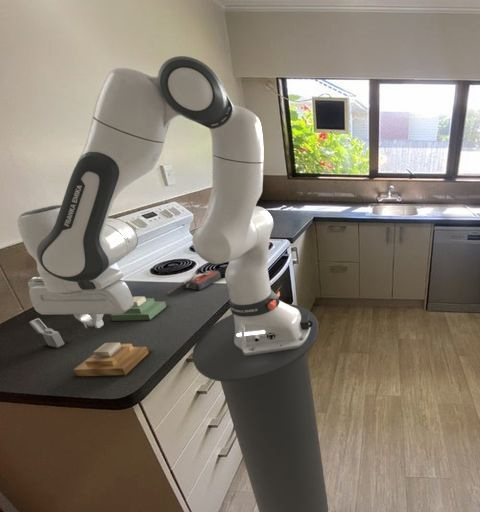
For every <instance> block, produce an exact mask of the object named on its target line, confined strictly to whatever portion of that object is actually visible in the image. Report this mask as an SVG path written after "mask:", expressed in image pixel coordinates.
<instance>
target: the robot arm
mask: <svg viewBox="0 0 480 512" xmlns="http://www.w3.org/2000/svg"><path fill="white" fill-rule="evenodd" d="M221 80H222V79H220V77H219V76H218V75H217V73H216V72H215V71H214V70H213V69H212V68H211V67H210V66H208V65H207V64H206V63H204V62H202V61H201V60H199V59H197V58H194V57H190V56H184V55H178V56H174V57H171V58H169V59H167V60H166V61H164V62H163V63H162V64H161V66H160V68H159V71H158V73H157V75H156V76H154V75H149V74H147V73H144V72H142V71H139V70H136V69H133V68H126V67H118V68H114V69H112V70H110V71H109V73H108V74H107V76H106V77H105V80H104V81H103V83H102V86H101V88H100V91H99V93H98V96H97V98H96V101H95V105H94V109H93V112H92V118H91V122H90V127H89V131H88V135H87V138H86V141H85V145H84V147H83V150H82V152H81V154H80V156H79V158H78V160H77V162H76V164H75V166H74V169H73V171H72V173H71V175H70V177H69V181H68V184H67V187H66V190H65V194H64V196H63V199H62V202H61V204H56V205H50V206H45V207H41V208H37V209H33V210H29V211H25V212H23V213H21V214H20V215H19V216H18V217H17V229H18V232H19V235H20V238H21V240H22V242H23V244H24V246H25V249H26V250H27V252H28V254H29V256H31V257H32V258H33V259H34V261H35V263H36V269H37V272H38V275H39V276H33V277H31V279H29V280H28V282H27V286H28V288H29V290H28V293H29V296H30V300H31V301H30V302H31V304H32V306H33V309H34V310H35V311H36V312H37V313H38V314H40V315H41V316H42V315H44V316H45V315H50V316H51V315H53V316H54V315H73V317H74V318H75V319H76V320H78V321H79V322H81V323H82V324H83V326H84V328H85V329H100V328H102V327H103V326H104V324H105V323H104V321H103V318H104V315H112V314H123V313H125V312H126V311H128V310H129V309H130V308H132V307H133V305H134V300H133V297H134V296H133V295H132V292H131V290H130V288H129V285H128V284H127V283H126V282H125V281H124V280H122V278H123V277H124V275H123V272H122V270H120V269H119V270H117V269H113V268H110V266H112V265H113V264H115V263H118V262H119V261H121V260H122V259H124V258H125V257H127V256H128V255H129V254H130V253H132V252H133V251H134V250H135V249H136V248H137V246H138V244H139V239H138V235H137V233H136V231H135V229H134V228H133V227H132V226H131V225H130V224H129V223H127V222H125V221H124V220H122V219H120V218H115V217H109V216H110V214H111V209H112V206H113V204H114V201H115V200H116V199H117V197H118V195H119V194H120V193H122V191H123V190H124V189H125V188H127V187H128V186H129V185H131V184H132V183H133V182H134V181H136V180H138V179H140V178H141V177H143V176H144V175H146V174H148V173H149V172H151V171H152V170H153V169H154V168H155V166H156V164H157V162H158V161H159V159H160V157H161V155H162V152H163V148H164V144H165V141H166V137H167V132H168V129H169V126H170V124H171V122H172V121H173V120H174V118H176V117H180V116H182V117H184V118H185V119H188V120H190V121H192V122H194V123H197V124H199V125H201V126H203V127H205V128H207V129H209V132H210V137H211V159H212V166H211V167H212V171H211V172H212V173H211V174H212V175H211V176H212V177H211V178H212V182H211V183H212V184H211V191H210V197H209V201H208V204H207V207H206V210H205V213H204V216H203V218H202V221H201V223H200V224H199V226H198V227H197V229H196V230H195V231H194V232H193V235H192V238H191V239H192V240H191V241H192V246H193V250H194V251H195V253H196V254H197V255H198V256H199V257H200V258H201V259H202V260H204V261H205V262H206V263H209V264H212V265H222V264H224V263H228V265H227V267H226V270H225V273H224V279H225V283H226V287H227V291H228V296H229V299H228V302H229V308H230V311H231V315H232V314H233V315H234V322H235V337H234V343H235V345H236V346H237V347H238V348H240V349H242V351H243V354H244V355H246V356H248V355H255V354H262V353H268V352H275V351H282V350H288V349H295V348H298V347H300V346H301V345H302V344H303V343H304V342H305V341H306V339H307V337H308V335H309V333H310V328H311V326H312V325H313V322H312V321H311V320H309V314H304V315H301V314H300V312H299V310H298V309H296V308H294V307H292V306H290V305H288V304H289V303H285V302H284V301H282V300H280V296H281V292H280V290H279V291H278V292H277V293H275V292H274V290H273V289H272V288H271V280H270V275H269V268H268V267H269V249H270V240H271V234H272V231H273V229H274V219H273V216H272V215H271V213H270V212H269V210H267V209H265V207H262V206H258V205H257V203H258V201H259V199H260V198H261V196H262V194H263V187H264V186H263V185H264V160H265V148H264V136H263V129H262V128H263V127H262V122H261V121H260V119H259V117H258V115H256V113H254V112H253V111H251V110H249V109H248V108H246V107H244V106H240V105H236V104H234V103H232V100H231V99H230V97H229V95H228V93H227V91H226V88H225V86H224V84H223V82H222V81H221ZM119 279H120V280H119Z"/></svg>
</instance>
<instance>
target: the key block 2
mask: <svg viewBox="0 0 480 512" xmlns="http://www.w3.org/2000/svg"><path fill="white" fill-rule="evenodd" d="M120 345H121V347H122V348H121V349H120V350H119V351H118V352H117V353H115V354H114V355H113V356H112V357H111V358H96V356H95V354H94V353H93V354H91V355H90V356H89V357H88V358H86V359H85V360H84V361H83V362H81V363H80V364H79V365H77V366H75V368H73V371H74V374H75V375H76V377H98V376H99V377H100V376H127V375H128V374H129V372H131V371H132V370H133V369H134V368H135V367H136V366H137V365H138V364H139V363H140V362H141V361H142V360H143V359H144V358H145V357H146V356H147V355H149V350H148V347H147V346H133V344H132V343H120Z"/></svg>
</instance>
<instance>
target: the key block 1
mask: <svg viewBox="0 0 480 512" xmlns="http://www.w3.org/2000/svg"><path fill="white" fill-rule="evenodd" d="M145 299H146V302H144V303H143V304H142V305H140V306H139V307H132V308H130V309H129V310H128V311H126V312H125V313H123V314H110V317H111V319H112V321H113V322H114V321H119V322H121V321H151V320H152V319H153V318H155V316H157V315H158V314H160V313H161V312H162V311H163V310H164V309H166V308H167V304H166V301H164V300H163V301H155V299H154V297H152V298H151V297H150V298H148V297H147V298H146V297H145Z"/></svg>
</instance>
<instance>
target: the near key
mask: <svg viewBox="0 0 480 512" xmlns="http://www.w3.org/2000/svg"><path fill="white" fill-rule="evenodd" d="M120 344H121V342H105V343H102V345H101V346H100V347H98V348H97V349H95V350H94V351H93V354H95V356H96V358H111V357H112V356H113V355H114V354H115V353H117V352H118V351H119V350H120V349H121V348H122V347H121V345H120Z"/></svg>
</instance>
